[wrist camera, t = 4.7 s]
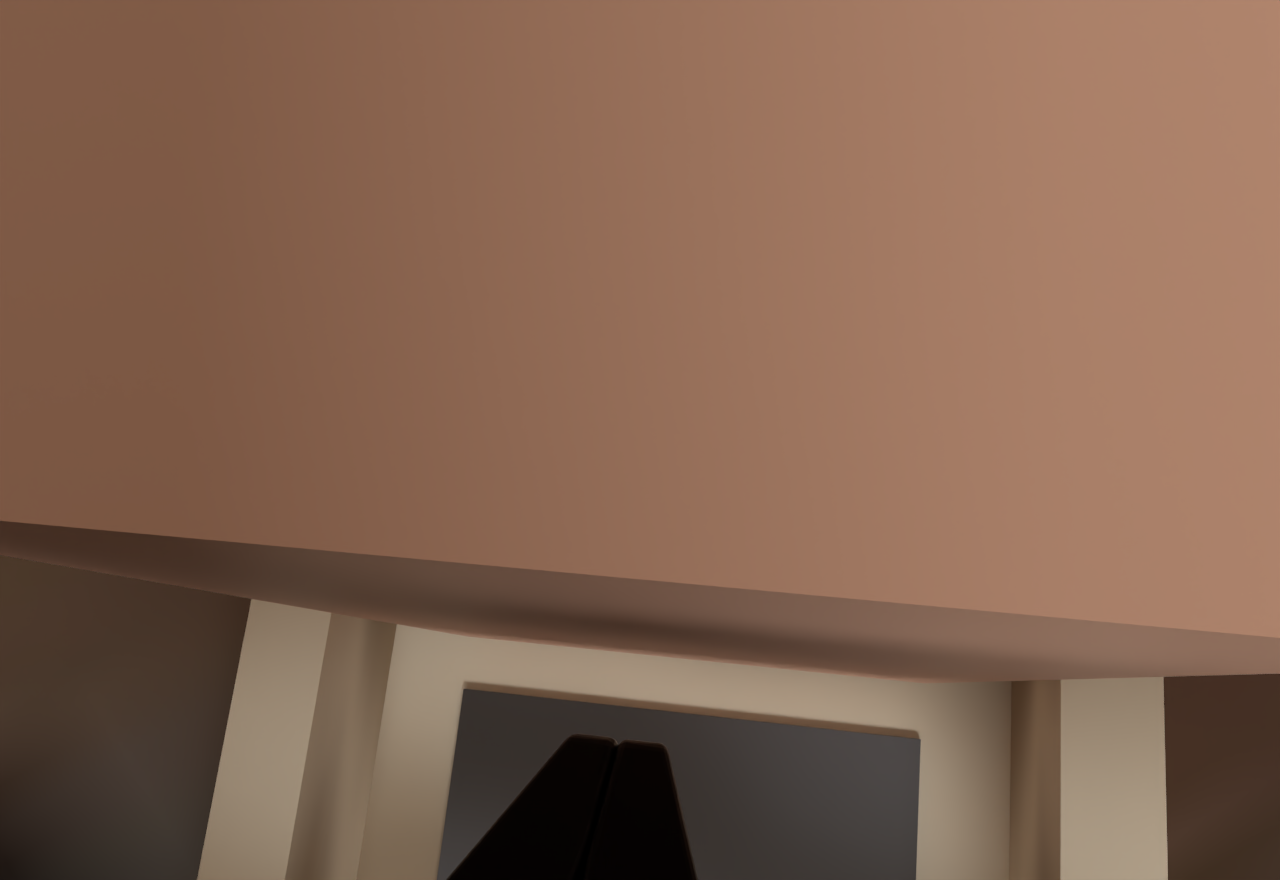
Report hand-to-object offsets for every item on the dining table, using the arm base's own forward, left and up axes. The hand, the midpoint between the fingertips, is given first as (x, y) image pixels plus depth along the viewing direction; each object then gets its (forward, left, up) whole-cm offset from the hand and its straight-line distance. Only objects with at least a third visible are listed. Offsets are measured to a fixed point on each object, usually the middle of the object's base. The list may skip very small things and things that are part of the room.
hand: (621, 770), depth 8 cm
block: (+3, -3, -6) cm, 8 cm away
